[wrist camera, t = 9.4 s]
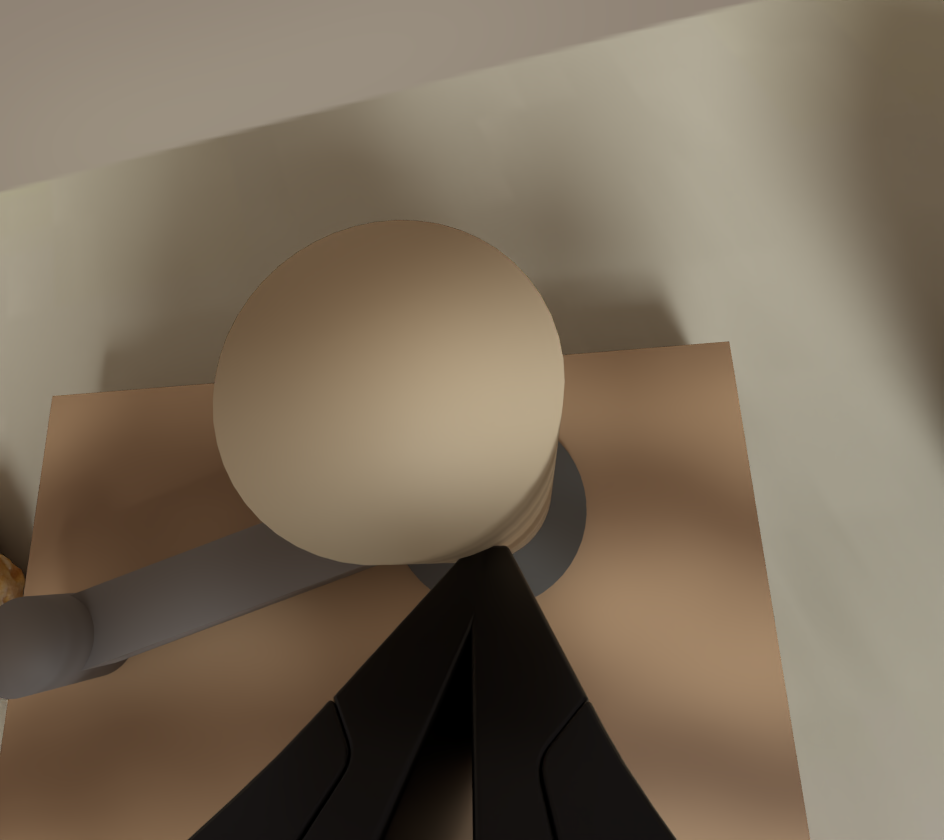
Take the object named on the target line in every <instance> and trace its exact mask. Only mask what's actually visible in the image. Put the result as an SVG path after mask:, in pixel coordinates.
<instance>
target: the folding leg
mask: <svg viewBox="0 0 944 840" xmlns="http://www.w3.org/2000/svg"><path fill="white" fill-rule="evenodd" d="M564 384H565V379H564V362H563V354H562V350H561V345H560V340H559V335H558V332H557V330H556V327H555V324H554V321H553V318H552V315H551V313H550V312H549V310H548V308H547V306H546V304H545V302H544V300H543V298H542V296H541V295H540V293H539V292H538V290H537V289H536V288H535V286H534V285H533V283H532V282H531V281H530V279H529V278H528V277H527V276H526V275H525V274H524V273H523V272H522V271H521V269H520V268H519V267H518V266H517V265H516V264H515V263H514V262H513V261H511V260H510V259H509V258H508V257H506V256H505V255H504V254H503V253H501V252H500V251H499V250H498V249H496V248H494V247H493V246H491V245H489V244H488V243H486V242H484V241H483V240H481V239H479V238H477V237H475V236H473V235H470V234H468V233H466V232H463V231H461V230H458V229H455V228H451V227H448V226H444V225H441V224H436V223H429V222H423V221H410V220H392V221H381V222H373V223H368V224H363V225H358V226H354V227H351V228H348V229H345V230H342V231H339V232H336V233H333V234H331V235H329V236H326V237H324V238H322V239H320V240H318V241H316V242H314V243H312V244H310V245H309V246H307V247H305V248H304V249H302V250H300V251H299V252H297V253H295V254H294V255H293V256H292V257H290V258H289V259H288V260H286V261H285V262H284V263H282V264H281V265H280V266H279V267H277V268H276V269H275V270H274V271H273V272H272V273H271V274H270V275H269V276H268V277H267V278H266V279H265V280H264V281H263V282H262V283H261V284H260V286H259V287H258V288H257V289H256V290H255V292H254V293H253V294H252V295H251V296H250V298H249V299H248V300H247V302H246V303H245V305H244V307H243V308H242V310H241V311H240V313H239V314H238V316H237V317H236V319H235V321H234V323H233V325H232V327H231V329H230V331H229V333H228V335H227V338H226V341H225V343H224V346H223V349H222V352H221V355H220V358H219V362H218V366H217V371H216V375H215V382H214V392H213V423H214V429H215V435H216V441H217V445H218V449H219V452H220V455H221V458H222V462H223V465H224V467H225V469H226V471H227V473H228V475H229V477H230V480H231V482H232V484H233V486H234V487H235V489H236V490H237V492H238V493H239V495H240V496H241V498H242V499H243V501H244V502H245V504H246V505H247V506H248V507H249V508H250V509H251V510H252V511H253V513H254V514H255V515H256V516H257V517H258V518H259V519H260V520H261V521H262V522H263V523H260V524H257V525H255V526H252V527H249V528H247V529H244V530H241V531H239V532H236V533H233V534H231V535H228V536H225V537H223V538H220V539H218V540H215V541H212V542H210V543H207V544H204V545H202V546H199V547H196V548H194V549H191V550H188V551H186V552H183V553H180V554H178V555H175V556H173V557H170V558H167V559H165V560H162V561H159V562H157V563H154V564H151V565H149V566H146V567H143V568H141V569H138V570H135V571H133V572H130V573H128V574H125V575H122V576H120V577H117V578H114V579H112V580H109V581H106V582H104V583H101V584H98V585H96V586H93V587H90V588H88V589H85V590H83V591H80V592H77V593H65V594H51V595H36V596H23V597H18V598H15V599H12V600H10V601H7V602H6V603H4V604H3V605H1V606H0V698H4V699H17V698H22V697H26V696H29V695H33V694H37V693H41V692H44V691H48V690H52V689H56V688H60V687H63V686H67V685H71V684H75V683H79V682H82V681H86V680H90V679H94V678H97V677H101V676H105V675H108V674H110V673H112V672H114V671H115V670H117V669H118V668H120V667H121V666H122V665H123V664H124V663H125V662H126V660H127V659H128V658H130V657H133V656H135V655H138V654H141V653H143V652H146V651H149V650H151V649H154V648H157V647H159V646H162V645H165V644H167V643H170V642H173V641H176V640H178V639H181V638H184V637H186V636H189V635H192V634H194V633H197V632H200V631H202V630H205V629H208V628H210V627H213V626H216V625H218V624H221V623H224V622H226V621H229V620H232V619H235V618H237V617H240V616H243V615H245V614H248V613H251V612H253V611H256V610H259V609H261V608H264V607H267V606H269V605H272V604H275V603H277V602H280V601H283V600H286V599H288V598H291V597H294V596H296V595H299V594H302V593H304V592H307V591H310V590H312V589H315V588H318V587H320V586H323V585H326V584H328V583H331V582H334V581H336V580H339V579H342V578H345V577H347V576H350V575H353V574H355V573H358V572H361V571H363V570H366V569H369V568H371V567H374V566H377V565H403V564H433V563H456V562H457V560H458V559H460V558H464V557H468V556H471V555H474V554H476V553H479V552H481V551H484V550H486V549H489V548H490V547H492V546H503V545H504V546H507V547H508V548H509V549H510V551H511V553H512V554H513V553H515V552H517V551H518V550H520V549H522V548H523V547H524V546H525V545H526V544H528V543H529V542H530V541H531V540H532V539H533V537H534V536H535V535H536V534H537V532H538V531H539V530H540V528H541V526H542V525H543V523H544V521H545V519H546V516H547V513H548V510H549V506H550V502H551V494H552V486H553V478H554V471H555V463H556V455H557V447H558V439H559V431H560V423H561V415H562V407H563V396H564Z"/></svg>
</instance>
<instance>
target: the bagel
mask: <svg viewBox="0 0 944 840" xmlns="http://www.w3.org/2000/svg"><path fill="white" fill-rule="evenodd" d="M24 585H25V578H24V575H23V573H22V571H21V569H20V568H18V567H17V566H16V565H14V564H13V563H12V562H11V560H10V559H8V558H6V557H5V556H3V555H2V554H0V606H1V605H3V604H4V603H6V602H7V601H10V600H12V599H15V598H18V597H23V588H24Z"/></svg>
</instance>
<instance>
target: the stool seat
mask: <svg viewBox="0 0 944 840" xmlns="http://www.w3.org/2000/svg"><path fill="white" fill-rule="evenodd" d="M563 362H564V379H565V384H564V396H563V407H562V415H561V423H560V431H559V439H558V447H557V455H556V463H555V471H554V478H553V486H552V494H551V502H550V506H549V510H548V513H547V516H546V519H545V521H544V523H543V525H542V526H541V528H540V530H539V531H538V532H537V534H536V535H535V536H534V537H533V539H532V540H531V541H530V542H529V543H528V544H526V545H525V546H524V547H523V548H522V549H520V550H518V551H517V552H515V553H513V556H514V558H515V560H516V562H517V564H518V566H519V568H520V570H521V572H522V573H523V575H524V577H525V579H526V581H527V583H528V585H529V587H530V589H531V590H532V592H533V594H534V596H535V598H536V600H537V602H538V604H539V606H540V608H541V609H542V611H543V613H544V615H545V617H546V619H547V621H548V623H549V625H550V627H551V628H552V630H553V632H554V634H555V636H556V638H557V640H558V642H559V644H560V645H561V647H562V649H563V651H564V653H565V655H566V657H567V659H568V661H569V663H570V664H571V666H572V668H573V670H574V672H575V674H576V676H577V678H578V680H579V682H580V683H581V685H582V687H583V689H584V691H585V693H586V695H587V697H588V699H589V702H591V703H592V705H593V707H594V709H595V710H596V712H597V714H598V716H599V718H600V720H601V722H602V724H603V725H604V727H605V729H606V731H607V733H608V734H609V736H610V738H611V739H612V741H613V743H614V745H615V746H616V748H617V750H618V752H619V753H620V755H621V757H622V759H623V760H624V762H625V764H626V765H627V767H628V768H629V770H630V771H631V773H632V774H633V776H634V777H635V779H636V781H637V782H638V784H639V785H640V787H641V788H642V790H643V791H644V793H645V794H646V796H647V797H648V799H649V800H650V802H651V803H652V805H653V806H654V808H655V809H656V811H657V812H658V813H659V815H660V816H661V818H662V819H663V821H664V822H665V823H666V825H667V826H668V828H669V829H670V830H671V832H672V833H673V835H674V836H675V838H676V839H677V840H810V836H809V830H808V824H807V817H806V811H805V805H804V799H803V793H802V787H801V780H800V774H799V768H798V762H797V756H796V750H795V744H794V737H793V731H792V725H791V719H790V713H789V707H788V701H787V694H786V688H785V682H784V676H783V670H782V664H781V657H780V651H779V645H778V639H777V633H776V627H775V621H774V614H773V608H772V602H771V596H770V590H769V584H768V578H767V571H766V565H765V559H764V553H763V547H762V541H761V534H760V528H759V522H758V516H757V510H756V504H755V498H754V491H753V485H752V479H751V473H750V467H749V461H748V455H747V448H746V442H745V436H744V430H743V424H742V418H741V411H740V405H739V399H738V393H737V387H736V381H735V375H734V368H733V362H732V356H731V350H730V344H729V342H717V343H705V344H693V345H680V346H668V347H655V348H643V349H631V350H618V351H606V352H594V353H581V354H569V355H563ZM213 392H214V383H210V384H197V385H185V386H172V387H160V388H148V389H135V390H123V391H111V392H98V393H86V394H73V395H61V396H53V397H52V404H51V410H50V417H49V424H48V431H47V438H46V445H45V451H44V458H43V465H42V472H41V479H40V485H39V492H38V499H37V506H36V513H35V520H34V526H33V533H32V540H31V547H30V554H29V561H28V567H27V574H26V581H25V588H24V595H23V596H36V595H51V594H65V593H77V592H80V591H83V590H85V589H88V588H90V587H93V586H96V585H98V584H101V583H104V582H106V581H109V580H112V579H114V578H117V577H120V576H122V575H125V574H128V573H130V572H133V571H135V570H138V569H141V568H143V567H146V566H149V565H151V564H154V563H157V562H159V561H162V560H165V559H167V558H170V557H173V556H175V555H178V554H180V553H183V552H186V551H188V550H191V549H194V548H196V547H199V546H202V545H204V544H207V543H210V542H212V541H215V540H218V539H220V538H223V537H225V536H228V535H231V534H233V533H236V532H239V531H241V530H244V529H247V528H249V527H252V526H255V525H257V524H260V523H263V522H262V521H261V520H260V519H259V518H258V517H257V516H256V515H255V514H254V513H253V511H252V510H251V509H250V508H249V507H248V506H247V505H246V504H245V502H244V501H243V499H242V498H241V496H240V495H239V493H238V492H237V490H236V489H235V487H234V486H233V484H232V482H231V480H230V477H229V475H228V473H227V471H226V469H225V467H224V465H223V462H222V458H221V455H220V452H219V449H218V445H217V441H216V435H215V429H214V423H213ZM454 564H455V563H433V564H403V565H377V566H374V567H371V568H369V569H366V570H363V571H361V572H358V573H355V574H353V575H350V576H347V577H345V578H342V579H339V580H336V581H334V582H331V583H328V584H326V585H323V586H320V587H318V588H315V589H312V590H310V591H307V592H304V593H302V594H299V595H296V596H294V597H291V598H288V599H286V600H283V601H280V602H277V603H275V604H272V605H269V606H267V607H264V608H261V609H259V610H256V611H253V612H251V613H248V614H245V615H243V616H240V617H237V618H235V619H232V620H229V621H226V622H224V623H221V624H218V625H216V626H213V627H210V628H208V629H205V630H202V631H200V632H197V633H194V634H192V635H189V636H186V637H184V638H181V639H178V640H176V641H173V642H170V643H167V644H165V645H162V646H159V647H157V648H154V649H151V650H149V651H146V652H143V653H141V654H138V655H135V656H133V657H130V658H128V659H127V660H126V662H125V663H124V664H123V665H122V666H121V667H120V668H118V669H117V670H115V671H114V672H112V673H110V674H108V675H105V676H101V677H97V678H94V679H90V680H86V681H82V682H79V683H75V684H71V685H67V686H63V687H60V688H56V689H52V690H48V691H44V692H41V693H37V694H33V695H29V696H26V697H22V698H17V699H8V704H7V711H6V718H5V725H4V731H3V738H2V745H1V752H0V840H188V839H189V838H190V837H191V836H192V835H193V834H194V833H195V832H196V831H197V830H199V829H200V828H201V827H202V826H203V825H204V824H205V823H206V822H207V821H208V820H209V819H211V818H212V817H213V816H214V815H215V814H216V813H217V812H218V811H219V810H220V809H221V808H222V807H224V806H225V805H226V804H227V803H228V802H229V801H230V800H231V799H232V798H233V797H234V796H235V795H237V794H238V793H239V792H240V791H241V790H242V789H243V788H244V787H245V786H246V785H247V784H248V783H249V782H250V781H251V780H252V779H253V778H254V777H255V776H256V775H257V774H258V773H259V772H261V771H262V770H263V769H264V768H265V767H266V766H267V765H268V764H269V763H270V762H271V761H272V760H273V759H274V758H275V757H276V756H277V755H278V754H279V753H280V752H281V751H282V750H283V749H284V748H285V747H286V746H287V745H288V744H289V743H290V742H291V741H292V740H293V738H294V737H295V736H296V735H297V734H298V733H299V732H300V731H301V730H302V729H303V728H304V727H305V726H306V725H307V724H308V723H309V722H310V721H311V720H312V718H313V717H314V716H315V715H316V714H317V713H318V712H319V711H320V710H321V709H322V708H323V706H324V705H325V704H326V703H327V702H328V701H330V700H332V701H333V702H334V700H333V697H334V696H335V695H336V693H337V692H338V691H339V690H340V689H341V688H342V687H343V686H344V685H345V684H346V682H347V681H348V680H349V679H350V678H351V677H352V676H353V675H354V674H355V673H356V671H357V670H358V669H359V668H360V667H361V666H362V665H363V664H364V663H365V662H366V660H367V659H368V658H369V657H370V656H371V655H372V654H373V653H374V652H375V651H376V649H377V648H378V647H379V646H380V645H381V644H382V643H383V642H384V641H385V640H386V638H387V637H388V636H389V635H390V634H391V633H392V632H393V631H394V630H395V629H396V627H397V626H398V625H399V624H400V623H401V622H402V621H403V620H404V619H405V618H406V617H407V615H408V614H409V613H410V612H411V611H412V610H413V609H414V608H415V607H416V606H417V604H418V603H419V602H420V601H421V600H422V599H423V598H424V597H425V596H426V595H427V593H428V592H429V591H430V590H431V589H432V588H433V587H434V586H435V585H436V584H437V582H438V581H439V580H440V579H441V578H442V577H443V576H444V575H445V574H446V573H447V571H448V570H449V569H450V568H451V567H452V566H453V565H454Z"/></svg>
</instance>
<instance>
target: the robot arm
mask: <svg viewBox="0 0 944 840" xmlns="http://www.w3.org/2000/svg"><path fill="white" fill-rule="evenodd" d="M333 700H334V702H333V701H332V700H330V701H328V702H327V703H326V704H325V705H324V706H323V708H322V709H321V710H320V711H319V712H318V713H317V714H316V715H315V716H314V717H313V718H312V720H311V721H310V722H309V723H308V724H307V725H306V726H305V727H304V728H303V729H302V730H301V731H300V732H299V733H298V734H297V735H296V736H295V737H294V738H293V740H292V741H291V742H290V743H289V744H288V745H287V746H286V747H285V748H284V749H283V750H282V751H281V752H280V753H279V754H278V755H277V756H276V757H275V758H274V759H273V760H272V761H271V762H270V763H269V764H268V765H267V766H266V767H265V768H264V769H263V770H262V771H261V772H259V773H258V774H257V775H256V776H255V777H254V778H253V779H252V780H251V781H250V782H249V783H248V784H247V785H246V786H245V787H244V788H243V789H242V790H241V791H240V792H239V793H238V794H237V795H235V796H234V797H233V798H232V799H231V800H230V801H229V802H228V803H227V804H226V805H225V806H224V807H222V808H221V809H220V810H219V811H218V812H217V813H216V814H215V815H214V816H213V817H212V818H211V819H209V820H208V821H207V822H206V823H205V824H204V825H203V826H202V827H201V828H200V829H199V830H197V831H196V832H195V833H194V834H193V835H192V836H191V837H190V838H189V839H188V840H677V839H676V838H675V836H674V835H673V833H672V832H671V830H670V829H669V828H668V826H667V825H666V823H665V822H664V821H663V819H662V818H661V816H660V815H659V813H658V812H657V811H656V809H655V808H654V806H653V805H652V803H651V802H650V800H649V799H648V797H647V796H646V794H645V793H644V791H643V790H642V788H641V787H640V785H639V784H638V782H637V781H636V779H635V777H634V776H633V774H632V773H631V771H630V770H629V768H628V767H627V765H626V764H625V762H624V760H623V759H622V757H621V755H620V753H619V752H618V750H617V748H616V746H615V745H614V743H613V741H612V739H611V738H610V736H609V734H608V733H607V731H606V729H605V727H604V725H603V724H602V722H601V720H600V718H599V716H598V714H597V712H596V710H595V709H594V707H593V705H592V703H591V702H589V699H588V697H587V695H586V693H585V691H584V689H583V687H582V685H581V683H580V682H579V680H578V678H577V676H576V674H575V672H574V670H573V668H572V666H571V664H570V663H569V661H568V659H567V657H566V655H565V653H564V651H563V649H562V647H561V645H560V644H559V642H558V640H557V638H556V636H555V634H554V632H553V630H552V628H551V627H550V625H549V623H548V621H547V619H546V617H545V615H544V613H543V611H542V609H541V608H540V606H539V604H538V602H537V600H536V598H535V596H534V594H533V592H532V590H531V589H530V587H529V585H528V583H527V581H526V579H525V577H524V575H523V573H522V572H521V570H520V568H519V566H518V564H517V562H516V560H515V558H514V556H513V554H512V553H511V551H510V549H509V548H508V547H507V546H504V545H503V546H492V547H490V548H489V549H486V550H484V551H481V552H479V553H476V554H474V555H471V556H468V557H464V558H460V559H458V560H457V562H456V563H455V564H454V565H453V566H452V567H451V568H450V569H449V570H448V571H447V573H446V574H445V575H444V576H443V577H442V578H441V579H440V580H439V581H438V582H437V584H436V585H435V586H434V587H433V588H432V589H431V590H430V591H429V592H428V593H427V595H426V596H425V597H424V598H423V599H422V600H421V601H420V602H419V603H418V604H417V606H416V607H415V608H414V609H413V610H412V611H411V612H410V613H409V614H408V615H407V617H406V618H405V619H404V620H403V621H402V622H401V623H400V624H399V625H398V626H397V627H396V629H395V630H394V631H393V632H392V633H391V634H390V635H389V636H388V637H387V638H386V640H385V641H384V642H383V643H382V644H381V645H380V646H379V647H378V648H377V649H376V651H375V652H374V653H373V654H372V655H371V656H370V657H369V658H368V659H367V660H366V662H365V663H364V664H363V665H362V666H361V667H360V668H359V669H358V670H357V671H356V673H355V674H354V675H353V676H352V677H351V678H350V679H349V680H348V681H347V682H346V684H345V685H344V686H343V687H342V688H341V689H340V690H339V691H338V692H337V693H336V695H335V696H334V697H333Z"/></svg>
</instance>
